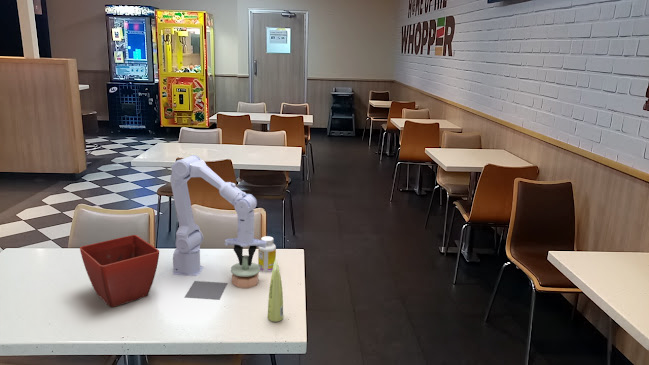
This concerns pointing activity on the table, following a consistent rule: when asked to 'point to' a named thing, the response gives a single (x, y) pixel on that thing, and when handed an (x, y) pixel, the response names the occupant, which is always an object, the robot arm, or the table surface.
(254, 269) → the lid
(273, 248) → the supplement bottle
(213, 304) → the table surface
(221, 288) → the mat
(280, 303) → the tube
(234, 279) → the bowl
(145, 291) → the plant pot
